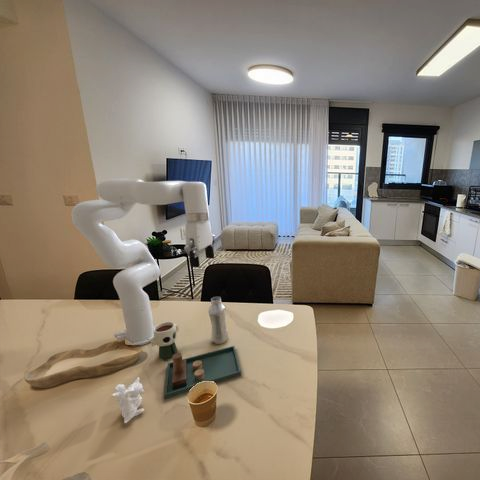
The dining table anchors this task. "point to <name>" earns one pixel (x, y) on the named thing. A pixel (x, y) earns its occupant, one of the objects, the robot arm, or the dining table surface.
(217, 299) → the plastic bottle
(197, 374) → the crumb
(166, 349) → the character mug
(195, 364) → the crumb
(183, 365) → the brush
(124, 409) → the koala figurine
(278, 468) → the dining table surface
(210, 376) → the tray
